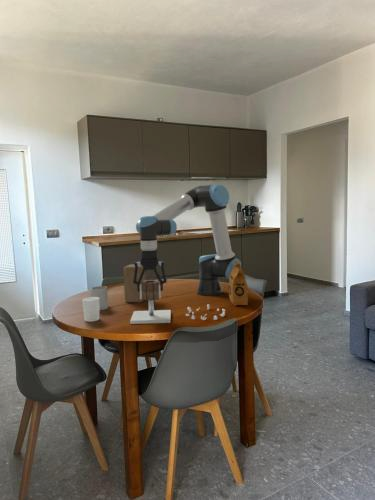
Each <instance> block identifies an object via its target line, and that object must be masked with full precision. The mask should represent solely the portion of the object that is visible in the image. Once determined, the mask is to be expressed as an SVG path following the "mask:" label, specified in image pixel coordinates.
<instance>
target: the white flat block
mask: <svg viewBox="0 0 375 500" xmlns="http://www.w3.org/2000/svg"><path fill="white" fill-rule="evenodd" d="M171 312H172V311H171V309H160V310H159V309H158V310H155V309H154V315H153V316H149V310H133V312H132V316H131V317H130V320H129V321H130V322H129V323H130V325H137V324H138V325H139V324H144V325H145V324H166V323H168V324H170V323H172V322H171V319H172V318H171V315H172V313H171Z"/></svg>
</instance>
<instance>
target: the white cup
mask: <svg viewBox="0 0 375 500" xmlns="http://www.w3.org/2000/svg"><path fill="white" fill-rule="evenodd" d="M81 301H82V310H83V317H84V321H85V322H96V321H99V320H100V311H101V310H100V298H98V297H91V296H90V297H89V296H88V297H84V298H82V300H81Z"/></svg>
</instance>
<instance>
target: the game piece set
mask: <svg viewBox="0 0 375 500" xmlns="http://www.w3.org/2000/svg"><path fill="white" fill-rule="evenodd" d="M206 307H207V308H206V309H207V310H208V311H209V310H210V304H209V303H207V305H206ZM200 308H201V307H198V308H196V311H199V310H200ZM221 310H222V313H220V314H219V316H220V317H222V318H224V316H225V315H226V309H224V308H222V309H221ZM187 311H188V313H186V314H185V317H190V313H191V314H192V315H191V317H190V319H191V320H196V316H195V315H194V314H195V312H194V311H192V307H190V306H187ZM216 311H217V312H220V308H219V307H218V308H217V309H216ZM206 316H207V313H205V314H204V316H202V315H200V320H202V321H206V319H207V317H206ZM216 320H217V321H218V315H213V321H216Z"/></svg>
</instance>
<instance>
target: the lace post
mask: <svg viewBox="0 0 375 500" xmlns="http://www.w3.org/2000/svg"><path fill="white" fill-rule="evenodd" d="M147 302H148V303H147V305H148V311H149V316H153V315H154V310H155V307H154V305H155V304H154V300H150V301H147Z"/></svg>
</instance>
